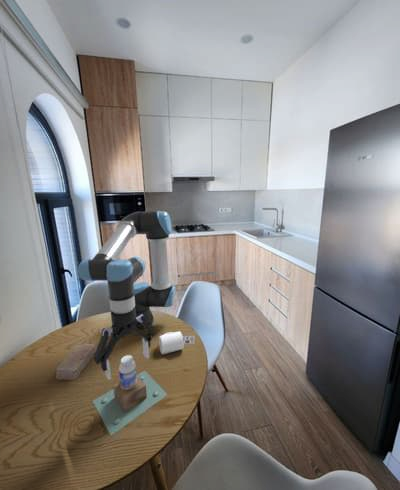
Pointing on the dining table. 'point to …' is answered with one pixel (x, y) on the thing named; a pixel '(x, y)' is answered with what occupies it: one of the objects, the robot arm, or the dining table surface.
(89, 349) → the brick
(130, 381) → the pill bottle
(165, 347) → the mug
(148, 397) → the build board
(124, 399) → the walnut block
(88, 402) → the dining table surface
